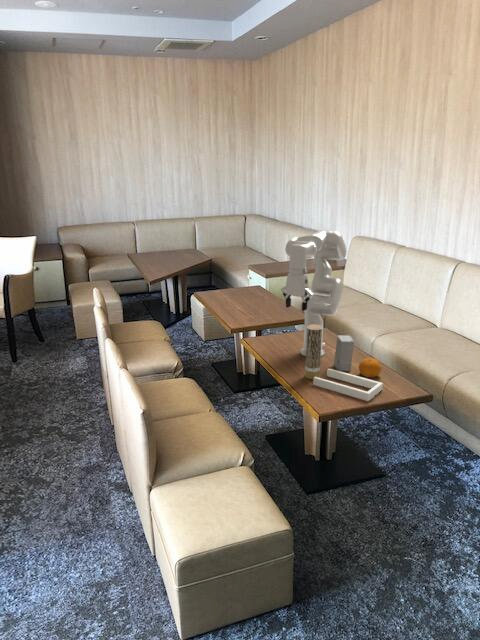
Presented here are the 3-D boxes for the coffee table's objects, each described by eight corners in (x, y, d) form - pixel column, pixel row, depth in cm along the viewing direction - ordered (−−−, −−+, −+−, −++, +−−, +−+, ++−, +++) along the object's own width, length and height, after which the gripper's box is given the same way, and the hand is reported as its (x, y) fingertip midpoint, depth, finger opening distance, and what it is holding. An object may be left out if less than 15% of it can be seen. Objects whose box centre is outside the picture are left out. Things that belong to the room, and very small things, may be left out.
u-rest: (328, 375, 250) (328, 368, 249) (382, 390, 234) (382, 383, 233) (313, 384, 240) (313, 377, 239) (368, 401, 224) (369, 393, 223)
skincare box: (333, 365, 262) (335, 335, 257) (347, 364, 263) (349, 334, 258) (337, 371, 254) (339, 340, 249) (352, 371, 255) (354, 340, 250)
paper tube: (320, 375, 250) (323, 325, 242) (317, 381, 244) (320, 329, 236) (306, 373, 252) (308, 323, 244) (303, 379, 246) (305, 328, 238)
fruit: (354, 376, 249) (355, 360, 247) (363, 369, 257) (365, 354, 255) (375, 381, 243) (376, 365, 241) (384, 374, 251) (385, 358, 249)
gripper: (318, 272, 236) (316, 310, 242) (286, 267, 247) (285, 303, 252) (309, 275, 231) (308, 313, 236) (276, 270, 241) (276, 307, 246)
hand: (296, 308), depth 244 cm, fingers open, 8 cm apart
